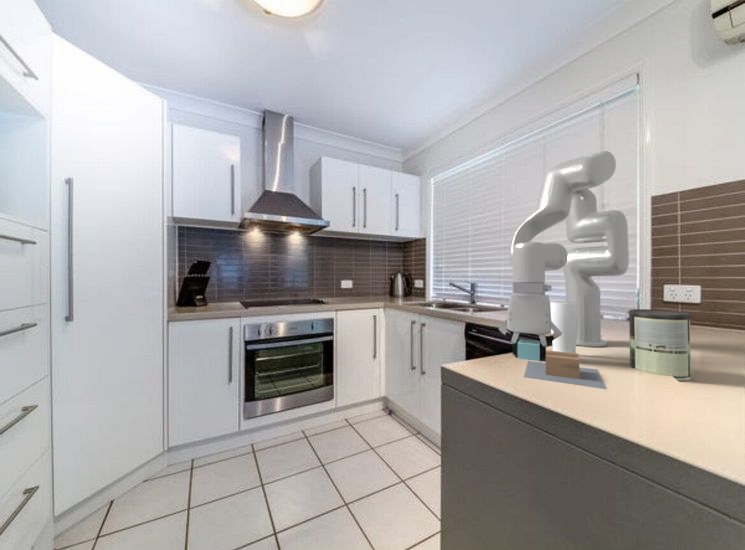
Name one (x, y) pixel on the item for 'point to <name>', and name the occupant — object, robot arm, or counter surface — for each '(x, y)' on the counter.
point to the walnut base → (562, 364)
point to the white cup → (565, 325)
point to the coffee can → (660, 342)
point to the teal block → (529, 350)
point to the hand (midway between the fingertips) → (529, 358)
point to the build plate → (585, 374)
